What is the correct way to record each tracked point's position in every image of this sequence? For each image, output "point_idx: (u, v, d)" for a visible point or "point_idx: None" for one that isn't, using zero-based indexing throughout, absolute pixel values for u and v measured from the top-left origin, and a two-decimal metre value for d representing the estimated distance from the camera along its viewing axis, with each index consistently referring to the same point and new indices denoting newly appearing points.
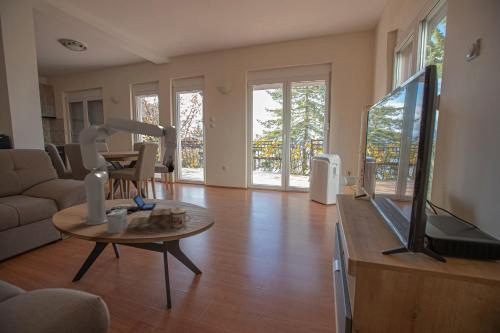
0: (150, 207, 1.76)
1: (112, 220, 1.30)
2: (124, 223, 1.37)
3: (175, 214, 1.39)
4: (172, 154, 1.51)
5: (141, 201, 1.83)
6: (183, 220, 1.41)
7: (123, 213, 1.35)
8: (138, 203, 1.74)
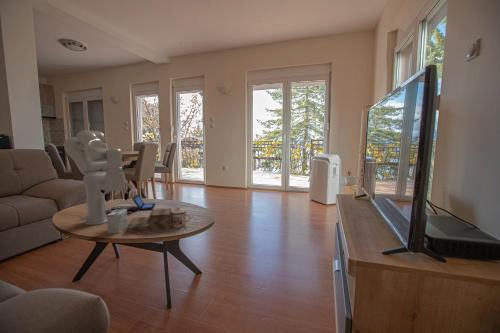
0: (149, 207, 1.76)
1: (112, 220, 1.30)
2: (124, 223, 1.37)
3: (175, 214, 1.39)
4: (125, 180, 1.35)
5: (140, 201, 1.82)
6: (183, 220, 1.41)
7: (123, 213, 1.35)
8: (137, 203, 1.74)
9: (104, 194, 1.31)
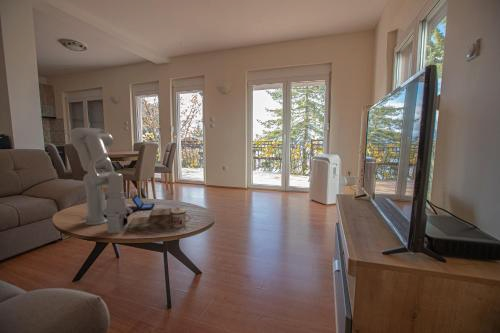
0: (149, 207, 1.76)
1: (112, 220, 1.30)
2: None
3: (175, 214, 1.39)
4: (126, 203, 1.37)
5: (140, 201, 1.82)
6: (183, 220, 1.41)
7: None
8: (137, 203, 1.74)
9: None
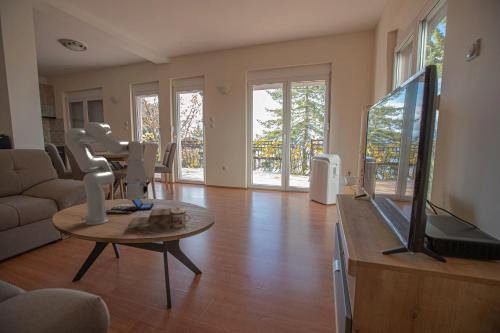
0: (148, 207, 1.76)
1: (133, 187, 1.31)
2: None
3: (175, 214, 1.39)
4: None
5: (139, 201, 1.82)
6: (183, 220, 1.41)
7: None
8: (136, 203, 1.74)
9: (127, 186, 1.33)
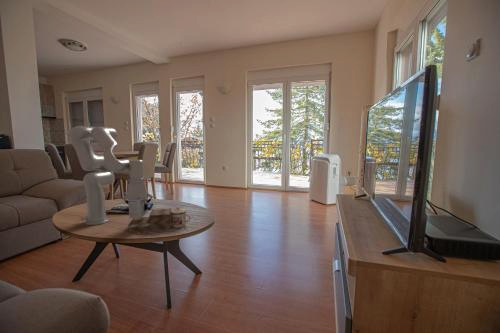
0: (148, 207, 1.76)
1: (134, 205, 1.32)
2: None
3: (175, 214, 1.39)
4: None
5: None
6: (183, 220, 1.41)
7: None
8: None
9: None
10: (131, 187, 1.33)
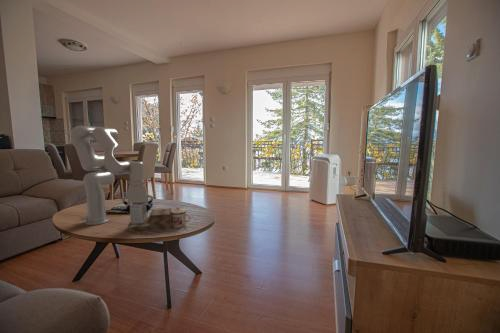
0: None
1: (135, 211, 1.32)
2: (145, 214, 1.39)
3: (175, 214, 1.39)
4: None
5: None
6: (183, 220, 1.41)
7: (145, 204, 1.38)
8: None
9: (127, 206, 1.35)
10: (131, 189, 1.33)
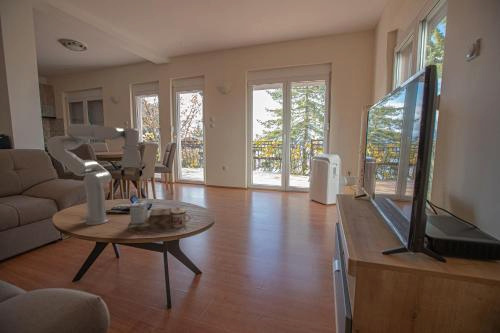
0: (147, 207, 1.76)
1: (135, 211, 1.32)
2: (145, 214, 1.39)
3: (175, 214, 1.39)
4: (140, 158, 1.46)
5: None
6: (183, 220, 1.41)
7: (145, 204, 1.38)
8: None
9: (121, 169, 1.42)
10: (125, 154, 1.40)
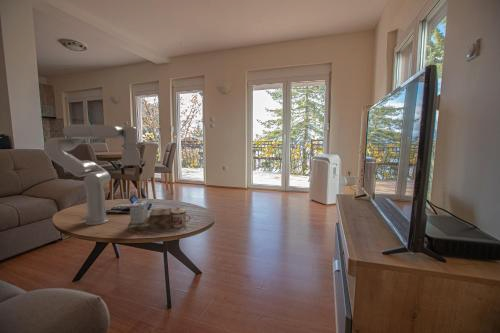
0: None
1: (135, 211, 1.32)
2: (145, 214, 1.39)
3: (175, 214, 1.39)
4: None
5: None
6: (183, 220, 1.41)
7: (145, 204, 1.38)
8: None
9: (121, 168, 1.43)
10: (125, 152, 1.42)
